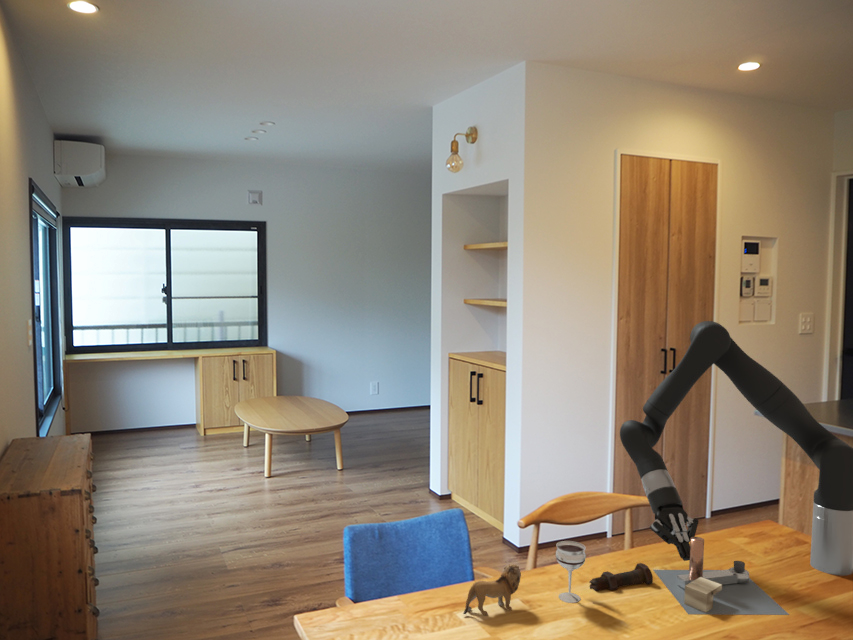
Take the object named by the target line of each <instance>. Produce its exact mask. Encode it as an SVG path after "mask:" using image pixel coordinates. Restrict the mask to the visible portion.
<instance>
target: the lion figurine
mask: <svg viewBox="0 0 853 640" xmlns="http://www.w3.org/2000/svg"><path fill="white" fill-rule="evenodd" d="M503 569H504V570H503V571H502V573H501V574H500V577H498V579H496V580H491V581H489V580H488V581H486V580H478V581H477V580H476V581H475V582H474V583H472V585H471V587H470V589H469V591H468V594H467V598H466V602H465V609H464V611H463V613H462V614H463V615H466V614H467V613H468V612H469V611H472V606H470V604H471V603H472V602H473V601H474V600H475V599H476V600H477V602H478V605H477V609H478V610H479V611H480V614H481V615H483V616H487V615H488V611H487V610H484V604H485V601H486V597H488V598H491V599H498V600H497V605H499V606H505V607H504V608H505V610H507V611H512V609H513V608H512V606H510V605H511V599H512V595H513V594H515V593H516V592H517V591H518V588H519V586H520V582H521V577H522V572H521V570H520V566H519V565H517V564H513V563H509V564H507V565H505V566H504V567H503ZM503 598H504V600H503Z"/></svg>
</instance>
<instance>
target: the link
mask: <svg viewBox="0 0 853 640" xmlns="http://www.w3.org/2000/svg"><path fill="white" fill-rule="evenodd" d="M689 544H690V560H689V564H688V566H689V567H688V570H689V574H685V575H677V584H678V585H679V586H681V587H682V588H683V589H685V586H686V585H687V584H689V583H691V582H693V581H694V580H696V579H698V578H700V577H702V578H705V579H708V580H711V581H713V582H716V583H719V584H722V585H724V584H732V583H741V584H745V583H748V582H749V578H750V572H749V571H748V570H747V569H745V571H744V572H737V571H735V570H734V566H733V567H729V568H727V569H718V570H719V571H711V572H703V570H704V554H705V553H704V552H705V539H704V538H702V537H700V536H695V537H691V538H690V542H689Z"/></svg>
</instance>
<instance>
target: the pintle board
mask: <svg viewBox="0 0 853 640" xmlns="http://www.w3.org/2000/svg"><path fill="white" fill-rule="evenodd" d="M733 567H734V570H735V571H737V572H744V571H745V570H746V568H745V567H746V563H745V562H744V561H741V560H734V561H733ZM719 570H720V569H703V572H711V571H719ZM653 572H654V573H655V574H656V576H657V577H658V579H660V581H661V582H662V584H664V586H665V587H666V588H667V590H669V592H670V593H671V595H672V596H673V597H674V598H675V600H676V601H677V602H678V603H679V604H680V606H681V607H682V609H683V610H684V611H685V612H686V613H687V614H688V615H716V616H717V615H719V616H720V615H726V616H727V615H728V616H729V615H733V616H734V615H735V616H737V615H742V616H743V615H745V616H747V615H750V616H755V615H756V616H759V615H760V616H765V615H767V616H768V615H769V616H770V615H774V616H776V615H777V616H779V615H780V616H782V615H783V616H789V615H790V614H789V613H788V612H787V611H786V609H785V608H783V607H782V606H780V605H779V604H778V603H777V602H776V600H774V599H773V598H772V597H771V596H770V595H769V594H768V593H766V592H765V591H764V589H762V588H761V587H760V586H759V585H758V584H756V582H755V581H753V580H752V579H751V578H750V577H749V582H748V583H745V584H741V583H732V584H724V585H722V590H721V591H719V592H718V593H716V594H714V595H713V608H712V609H710V610H709V611H707V612H704V611H701V610H699V609H696V608H694V607H691V606H689V605H686V604H684V599H685V589H683V588H682V587H681V586H679V585H678V584H677V575H685V574H689V569H653Z"/></svg>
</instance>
